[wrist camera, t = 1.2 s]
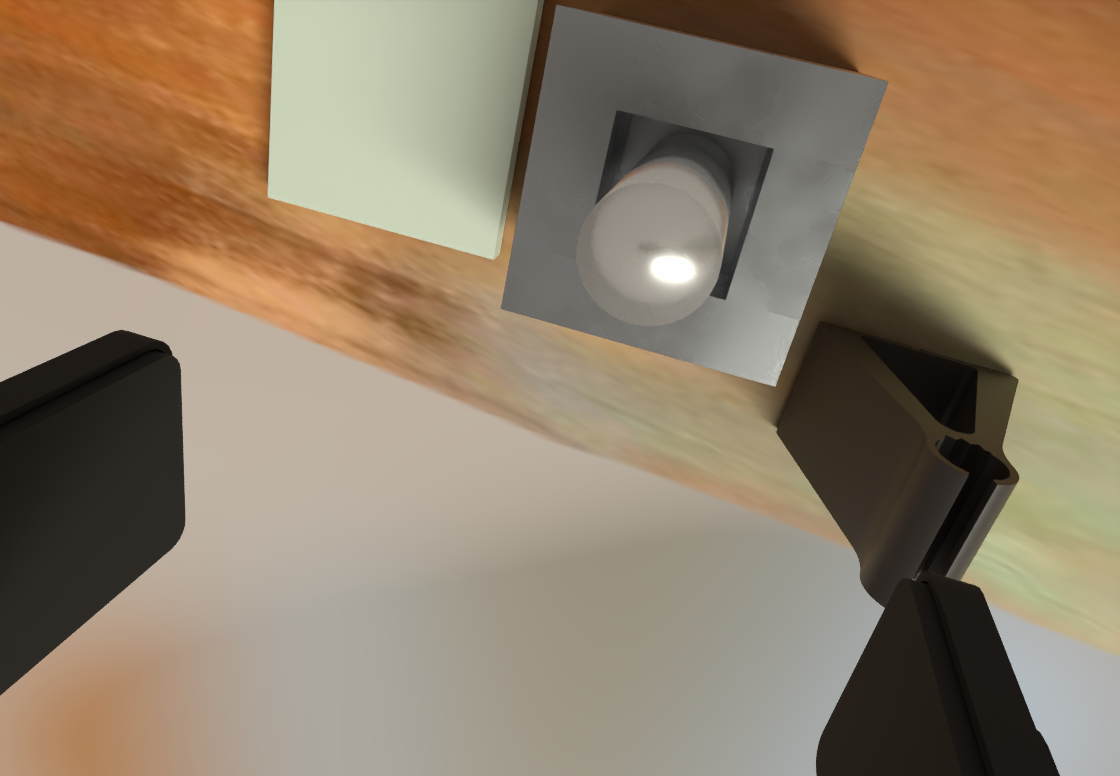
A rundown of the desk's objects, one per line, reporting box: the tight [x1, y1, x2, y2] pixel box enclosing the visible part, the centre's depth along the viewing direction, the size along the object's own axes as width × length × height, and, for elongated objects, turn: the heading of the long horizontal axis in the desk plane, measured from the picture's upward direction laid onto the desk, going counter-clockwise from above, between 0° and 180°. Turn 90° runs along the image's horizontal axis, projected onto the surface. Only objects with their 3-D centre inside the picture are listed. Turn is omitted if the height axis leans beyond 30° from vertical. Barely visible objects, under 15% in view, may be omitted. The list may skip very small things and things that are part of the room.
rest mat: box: [268, 0, 544, 260], centre depth 36 cm, size 12×12×1 cm
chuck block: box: [501, 5, 888, 387], centre depth 31 cm, size 11×11×8 cm
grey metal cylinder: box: [576, 134, 735, 326], centre depth 27 cm, size 4×4×12 cm
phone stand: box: [776, 322, 1019, 608], centre depth 31 cm, size 9×6×12 cm, turn 77°
